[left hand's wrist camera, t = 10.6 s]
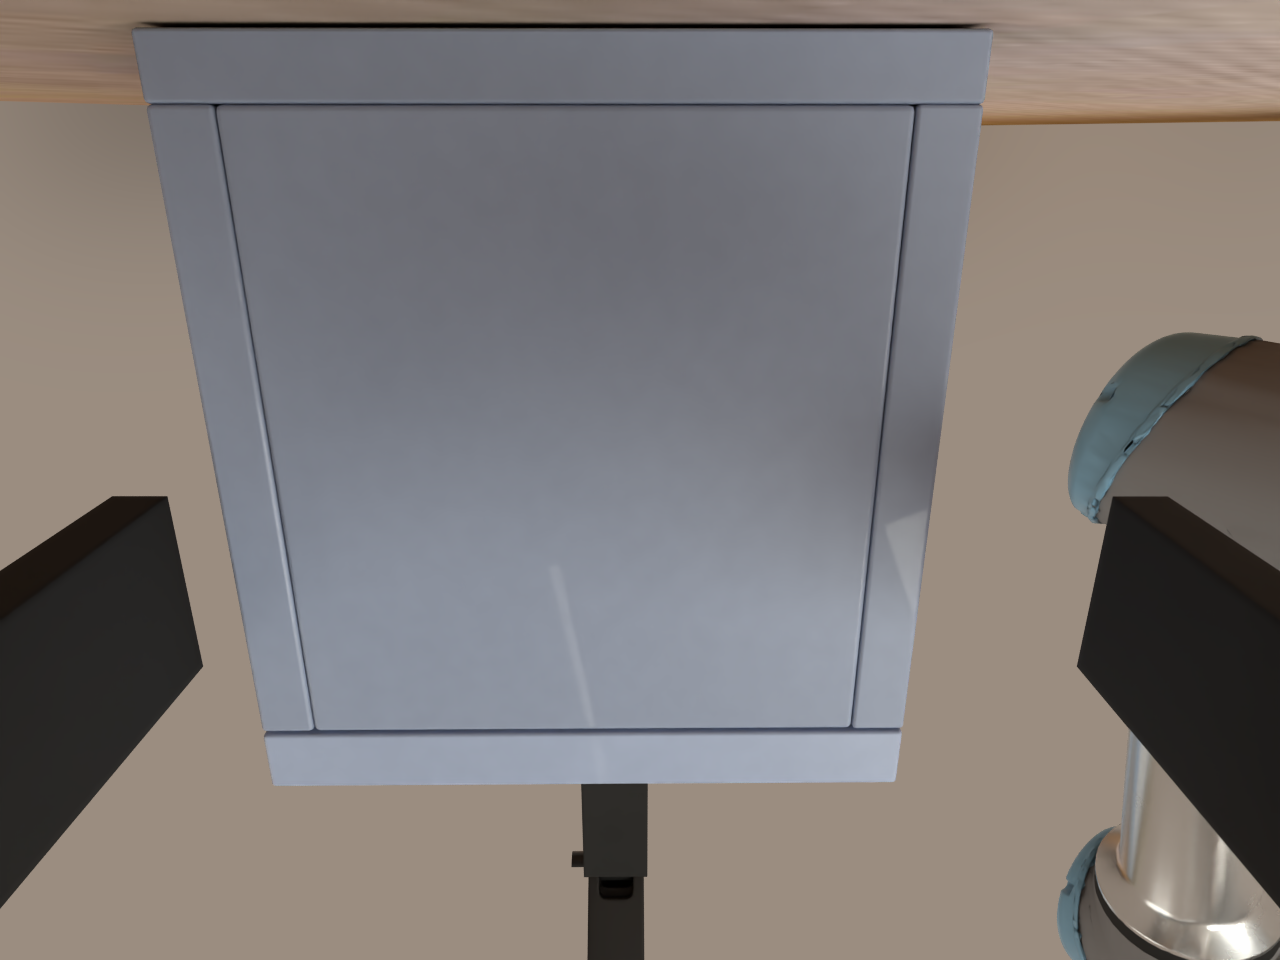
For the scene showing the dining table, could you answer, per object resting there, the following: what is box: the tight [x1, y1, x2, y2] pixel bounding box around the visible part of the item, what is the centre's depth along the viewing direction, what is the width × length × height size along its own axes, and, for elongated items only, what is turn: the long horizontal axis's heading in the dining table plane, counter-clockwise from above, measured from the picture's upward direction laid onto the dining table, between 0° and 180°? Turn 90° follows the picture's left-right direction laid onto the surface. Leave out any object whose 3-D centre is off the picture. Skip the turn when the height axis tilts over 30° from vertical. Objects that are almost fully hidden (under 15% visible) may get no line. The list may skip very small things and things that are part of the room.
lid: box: [264, 723, 902, 786], centre depth 22 cm, size 14×10×9 cm
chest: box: [132, 27, 993, 731], centre depth 18 cm, size 13×10×10 cm
